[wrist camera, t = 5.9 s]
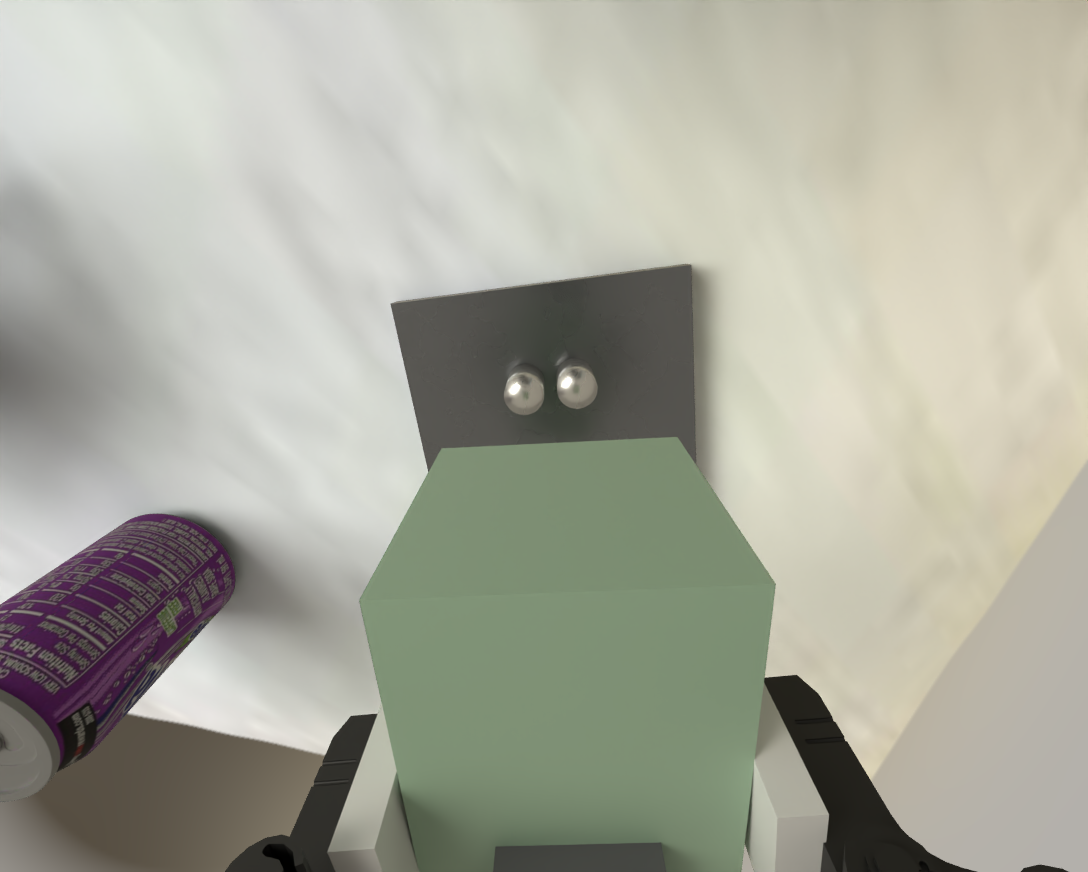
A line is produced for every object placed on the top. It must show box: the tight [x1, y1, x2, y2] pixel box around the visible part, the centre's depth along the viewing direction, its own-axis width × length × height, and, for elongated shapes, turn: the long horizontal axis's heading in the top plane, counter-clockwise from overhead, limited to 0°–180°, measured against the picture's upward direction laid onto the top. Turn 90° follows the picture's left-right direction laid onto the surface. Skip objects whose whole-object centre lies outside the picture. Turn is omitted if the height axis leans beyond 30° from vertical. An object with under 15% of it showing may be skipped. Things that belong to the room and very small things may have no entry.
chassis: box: [391, 264, 696, 472], centre depth 26 cm, size 16×14×4 cm
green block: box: [359, 437, 776, 872], centre depth 12 cm, size 10×6×7 cm, turn 3°
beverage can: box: [0, 514, 235, 802], centre depth 25 cm, size 7×7×12 cm
